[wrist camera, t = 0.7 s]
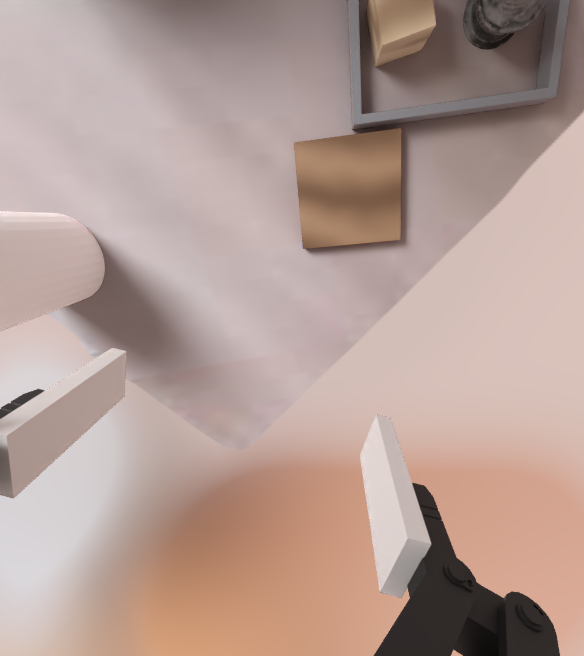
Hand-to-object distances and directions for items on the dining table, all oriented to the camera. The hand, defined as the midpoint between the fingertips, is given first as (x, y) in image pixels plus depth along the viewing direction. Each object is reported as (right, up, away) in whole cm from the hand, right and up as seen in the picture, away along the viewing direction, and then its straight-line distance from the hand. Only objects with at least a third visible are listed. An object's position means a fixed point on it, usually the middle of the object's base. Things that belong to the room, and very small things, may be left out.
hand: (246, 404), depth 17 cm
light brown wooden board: (+9, +19, +20) cm, 29 cm away
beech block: (+12, +33, +15) cm, 38 cm away
